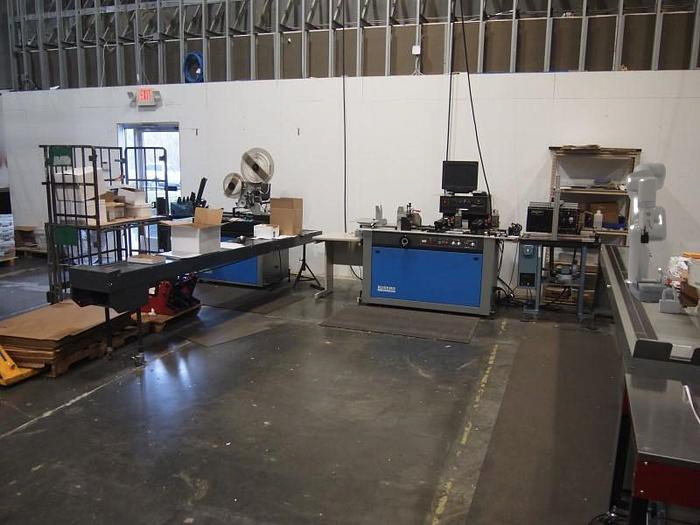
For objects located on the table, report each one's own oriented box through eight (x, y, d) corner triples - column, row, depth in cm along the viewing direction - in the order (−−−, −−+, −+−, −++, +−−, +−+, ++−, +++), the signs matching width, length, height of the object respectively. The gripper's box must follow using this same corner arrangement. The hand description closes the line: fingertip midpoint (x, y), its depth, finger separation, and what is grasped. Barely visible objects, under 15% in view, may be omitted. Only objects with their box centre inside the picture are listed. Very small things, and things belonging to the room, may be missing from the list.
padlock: (659, 312, 222) (660, 288, 221) (658, 310, 226) (659, 287, 224) (679, 313, 219) (680, 289, 217) (678, 311, 222) (679, 288, 221)
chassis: (628, 290, 267) (629, 276, 266) (658, 291, 263) (659, 277, 262) (639, 301, 243) (639, 286, 242) (671, 302, 238) (672, 287, 237)
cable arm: (656, 288, 266) (657, 267, 265) (663, 288, 265) (665, 267, 264) (669, 299, 241) (670, 277, 240) (677, 299, 240) (678, 277, 239)
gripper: (659, 206, 244) (656, 245, 248) (651, 202, 258) (649, 240, 261) (640, 206, 246) (638, 245, 250) (634, 203, 260) (632, 240, 264)
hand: (644, 243), depth 256 cm, fingers closed
